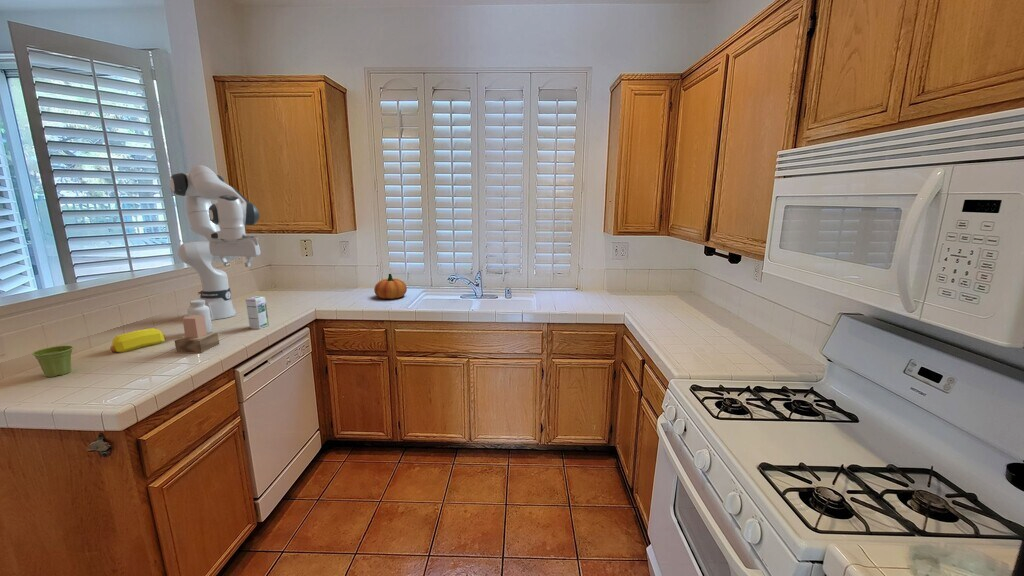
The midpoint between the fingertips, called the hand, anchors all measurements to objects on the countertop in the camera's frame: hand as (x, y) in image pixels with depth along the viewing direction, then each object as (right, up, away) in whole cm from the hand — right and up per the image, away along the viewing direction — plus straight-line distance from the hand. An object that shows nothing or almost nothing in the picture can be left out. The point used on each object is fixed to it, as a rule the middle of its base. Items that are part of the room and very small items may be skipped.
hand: (237, 266), depth 178 cm
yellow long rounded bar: (-33, -34, -10) cm, 49 cm away
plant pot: (-38, -39, -37) cm, 65 cm away
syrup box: (-1, -28, +17) cm, 33 cm away
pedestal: (-8, -34, -11) cm, 37 cm away
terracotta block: (-8, -29, -12) cm, 33 cm away
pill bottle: (-21, -30, +7) cm, 37 cm away
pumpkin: (+44, -15, +79) cm, 92 cm away
